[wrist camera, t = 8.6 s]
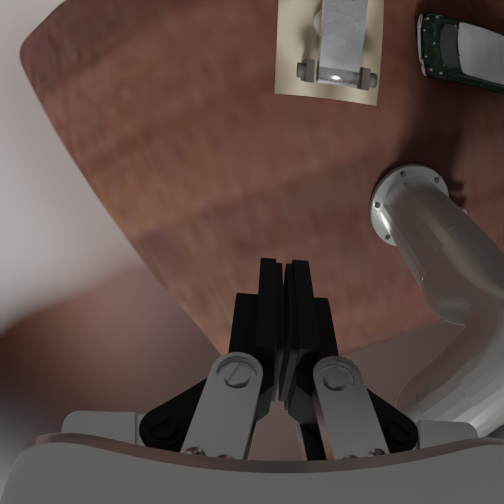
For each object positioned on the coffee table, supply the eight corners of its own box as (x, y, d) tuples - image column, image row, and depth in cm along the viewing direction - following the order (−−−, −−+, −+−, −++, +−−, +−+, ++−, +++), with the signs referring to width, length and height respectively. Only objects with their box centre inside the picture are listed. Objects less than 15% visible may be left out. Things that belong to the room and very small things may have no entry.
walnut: (351, 12, 25) (362, 5, 22) (350, 46, 28) (361, 43, 24) (313, 6, 25) (319, -3, 22) (311, 40, 28) (317, 36, 24)
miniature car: (511, 96, 28) (545, 108, 22) (413, 76, 30) (444, 81, 23) (509, 41, 23) (545, 45, 17) (408, 12, 25) (438, 3, 19)
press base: (378, -49, 21) (398, -66, 15) (372, 104, 33) (392, 112, 27) (280, -65, 21) (282, -88, 15) (274, 92, 33) (275, 97, 27)
